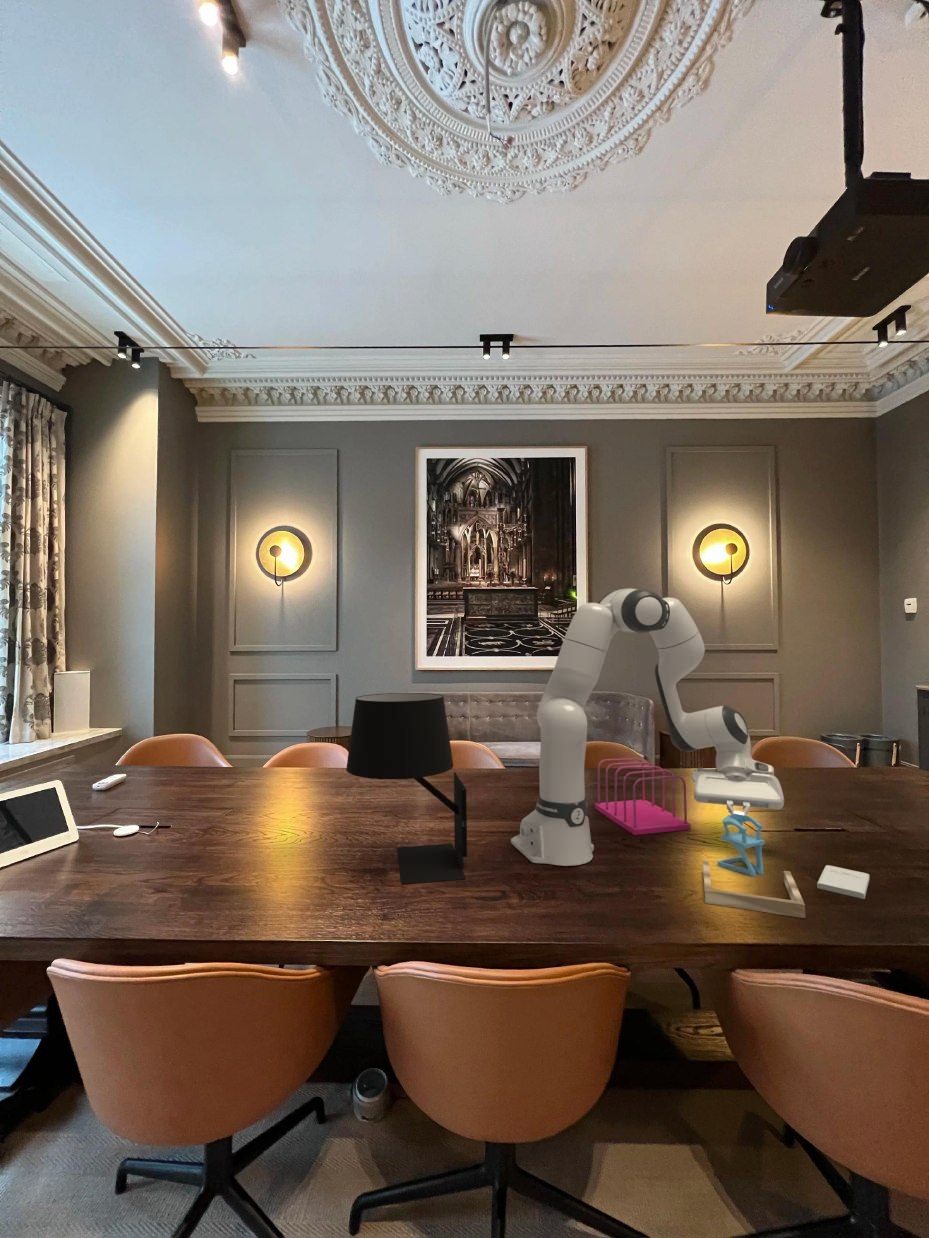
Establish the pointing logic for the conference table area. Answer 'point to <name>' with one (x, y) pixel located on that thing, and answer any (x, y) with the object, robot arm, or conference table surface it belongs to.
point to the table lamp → (411, 770)
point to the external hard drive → (844, 881)
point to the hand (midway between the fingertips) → (739, 820)
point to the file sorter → (642, 804)
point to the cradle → (756, 898)
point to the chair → (743, 844)
